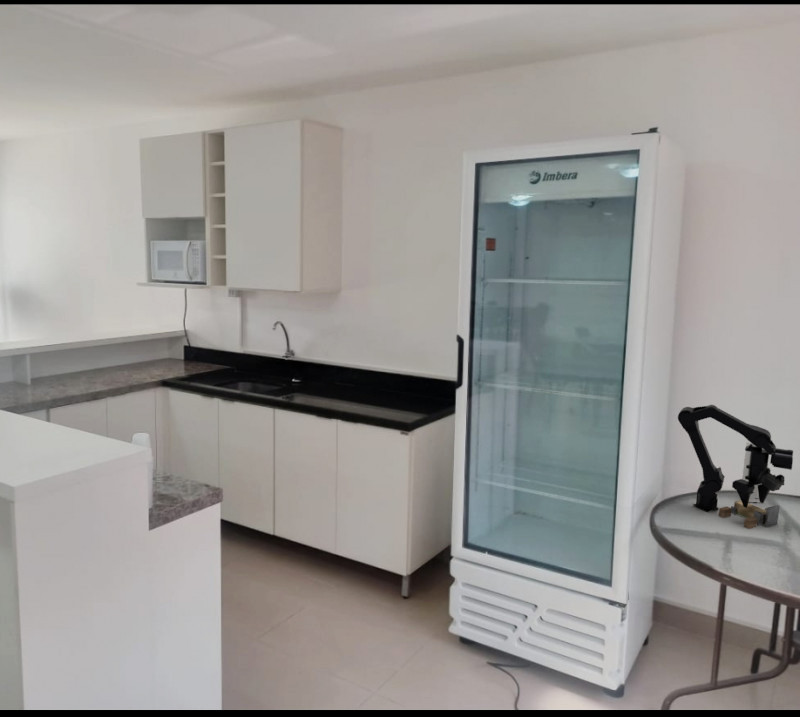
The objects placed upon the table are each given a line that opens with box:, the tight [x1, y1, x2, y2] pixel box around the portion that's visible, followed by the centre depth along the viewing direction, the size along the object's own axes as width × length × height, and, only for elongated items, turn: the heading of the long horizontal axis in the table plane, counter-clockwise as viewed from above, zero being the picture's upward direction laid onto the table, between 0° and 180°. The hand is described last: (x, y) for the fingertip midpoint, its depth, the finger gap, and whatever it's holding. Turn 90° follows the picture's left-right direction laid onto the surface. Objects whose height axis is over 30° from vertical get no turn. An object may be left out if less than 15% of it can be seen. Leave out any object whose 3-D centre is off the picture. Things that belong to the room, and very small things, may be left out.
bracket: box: [730, 504, 780, 528], centre depth 233 cm, size 15×7×7 cm, turn 27°
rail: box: [733, 499, 766, 523], centre depth 233 cm, size 12×4×4 cm, turn 27°
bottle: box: [741, 439, 770, 503], centre depth 248 cm, size 8×8×28 cm
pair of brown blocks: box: [718, 506, 758, 530], centre depth 230 cm, size 12×4×3 cm, turn 27°
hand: (753, 505), depth 232 cm, fingers open, 9 cm apart
